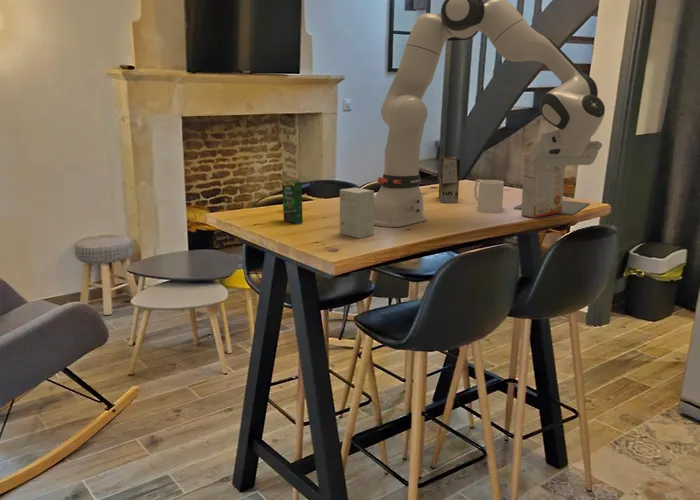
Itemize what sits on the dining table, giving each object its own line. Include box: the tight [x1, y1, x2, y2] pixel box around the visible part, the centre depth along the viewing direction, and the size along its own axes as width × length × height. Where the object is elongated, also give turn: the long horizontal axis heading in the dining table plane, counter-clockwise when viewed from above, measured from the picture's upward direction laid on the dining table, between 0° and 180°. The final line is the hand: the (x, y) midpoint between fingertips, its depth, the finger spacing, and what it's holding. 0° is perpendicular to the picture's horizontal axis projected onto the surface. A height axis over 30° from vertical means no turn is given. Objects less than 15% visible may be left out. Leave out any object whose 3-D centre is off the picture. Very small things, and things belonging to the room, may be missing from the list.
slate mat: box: [513, 199, 591, 216], centre depth 221 cm, size 24×20×1 cm
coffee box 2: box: [438, 156, 461, 204], centre depth 230 cm, size 9×6×16 cm
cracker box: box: [521, 152, 566, 219], centre depth 203 cm, size 14×6×21 cm, turn 123°
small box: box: [339, 187, 375, 239], centre depth 177 cm, size 8×6×13 cm
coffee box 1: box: [281, 179, 304, 225], centre depth 193 cm, size 8×3×13 cm, turn 35°
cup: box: [473, 178, 505, 214], centre depth 214 cm, size 8×12×10 cm
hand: (554, 170), depth 195 cm, fingers closed
